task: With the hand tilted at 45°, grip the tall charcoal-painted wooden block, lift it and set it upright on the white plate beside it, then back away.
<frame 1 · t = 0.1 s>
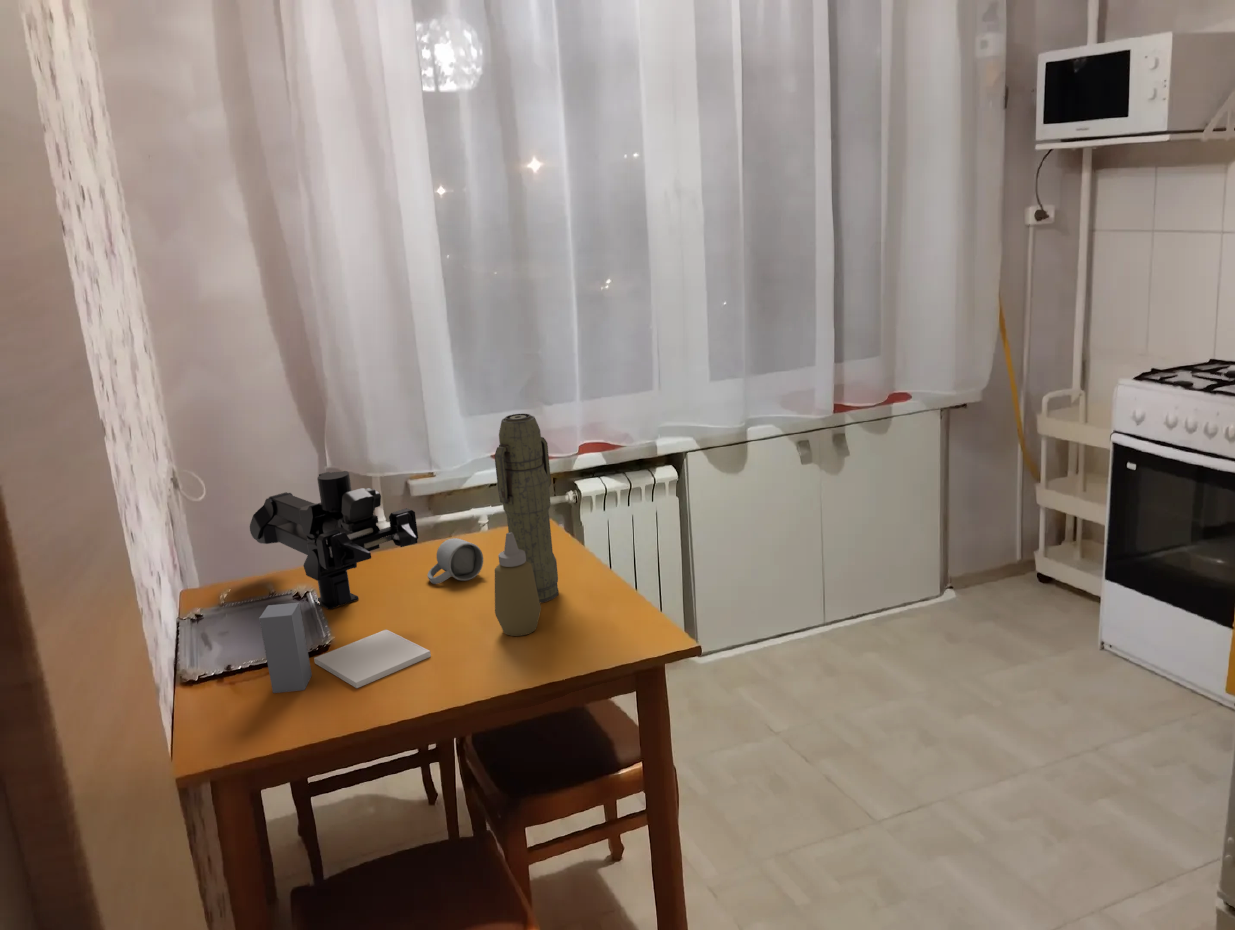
hand: (393, 547, 170), 17 cm above the table, tool horizontal, fingers open, 9 cm apart
tall block: (292, 684, 159), on the table
squeeze bottle: (520, 630, 173), on the table
white plate: (372, 659, 166), on the table
ceramic mug: (455, 578, 200), on the table
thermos: (536, 595, 188), on the table
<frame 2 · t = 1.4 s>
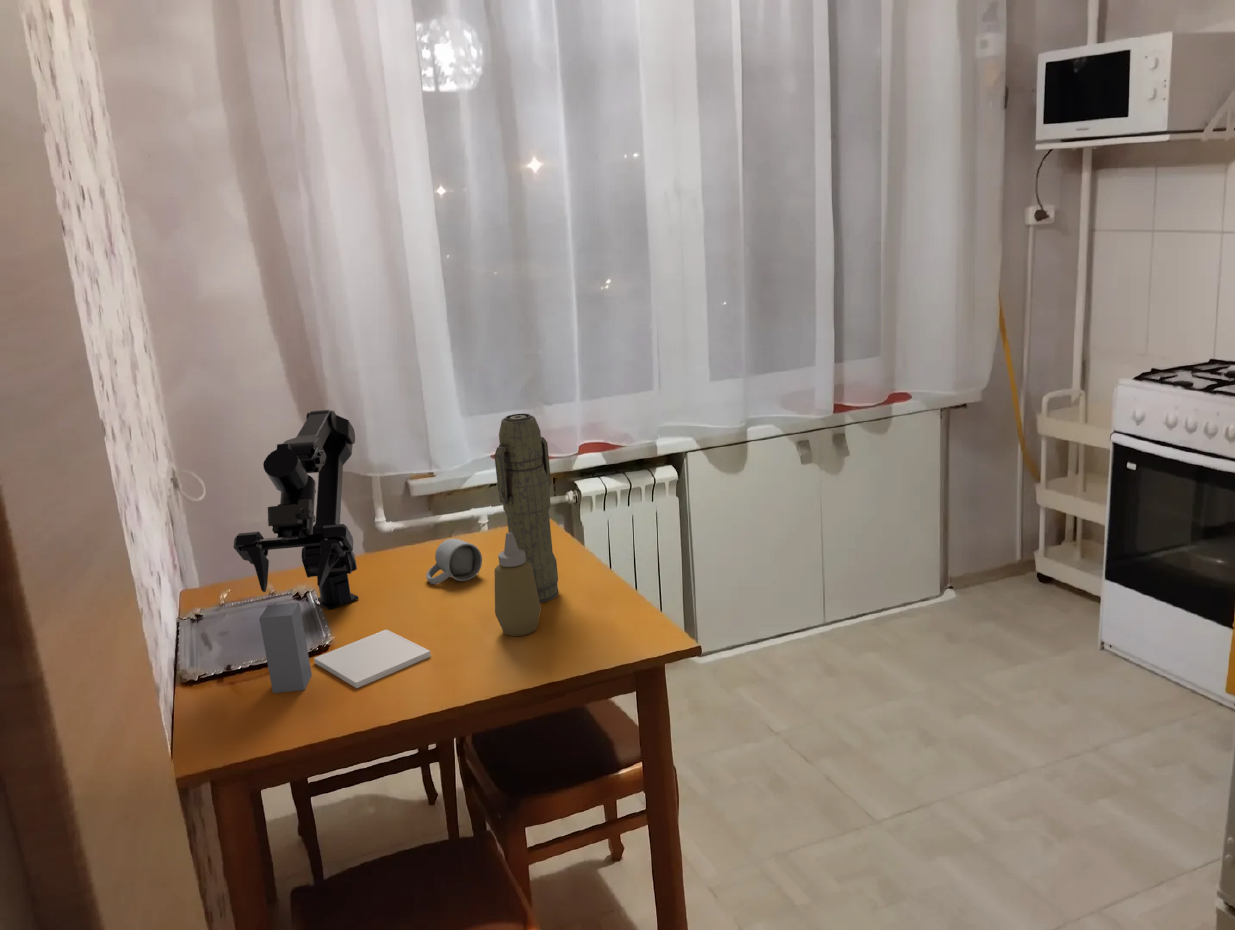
hand: (291, 588, 163), 13 cm above the table, tool tilted 45°, fingers open, 9 cm apart
nothing on the table moved.
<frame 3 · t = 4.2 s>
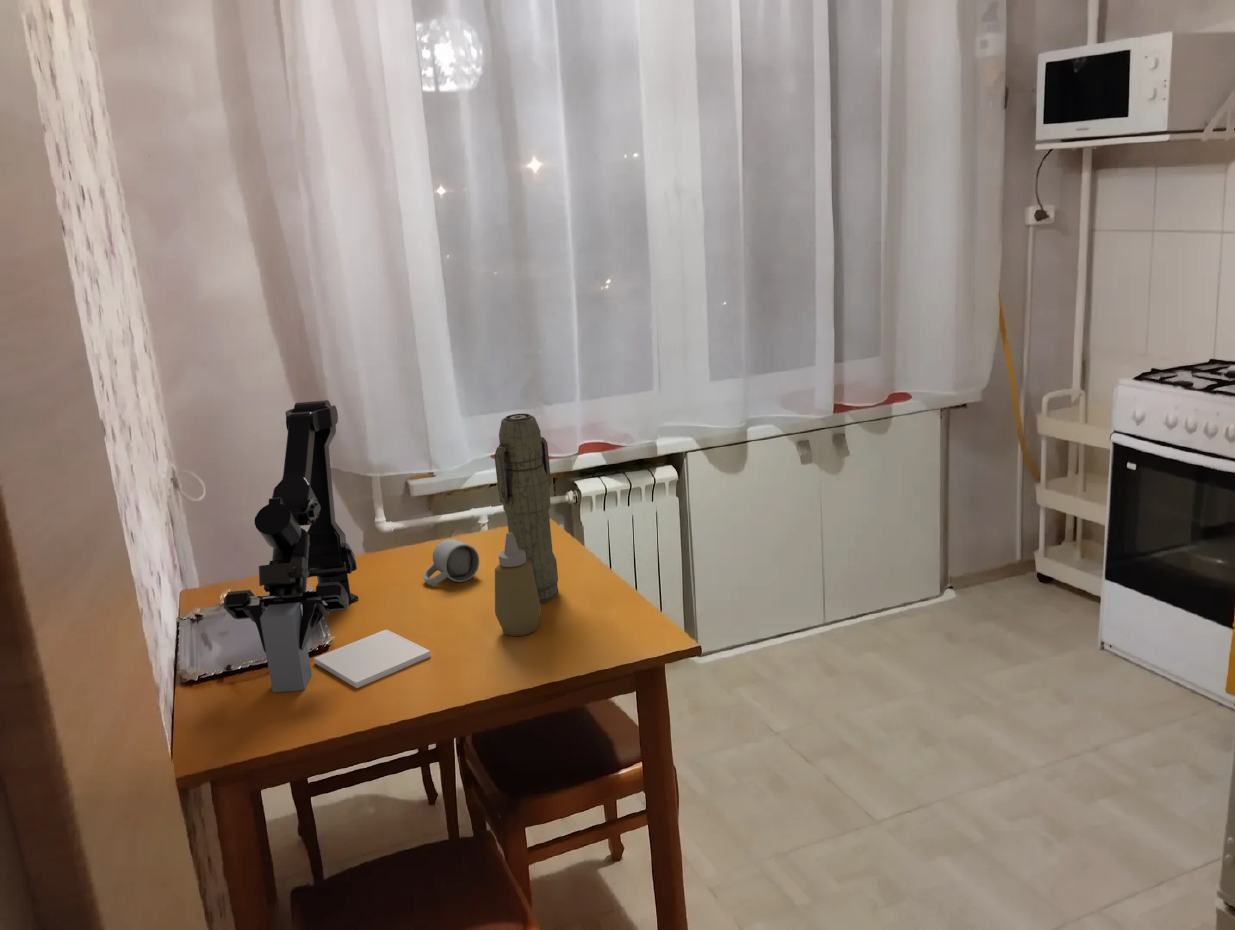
hand: (283, 650, 156), 7 cm above the table, tool tilted 45°, fingers closed on tall block, 5 cm apart
tall block: (292, 683, 159), on the table, touching gripper
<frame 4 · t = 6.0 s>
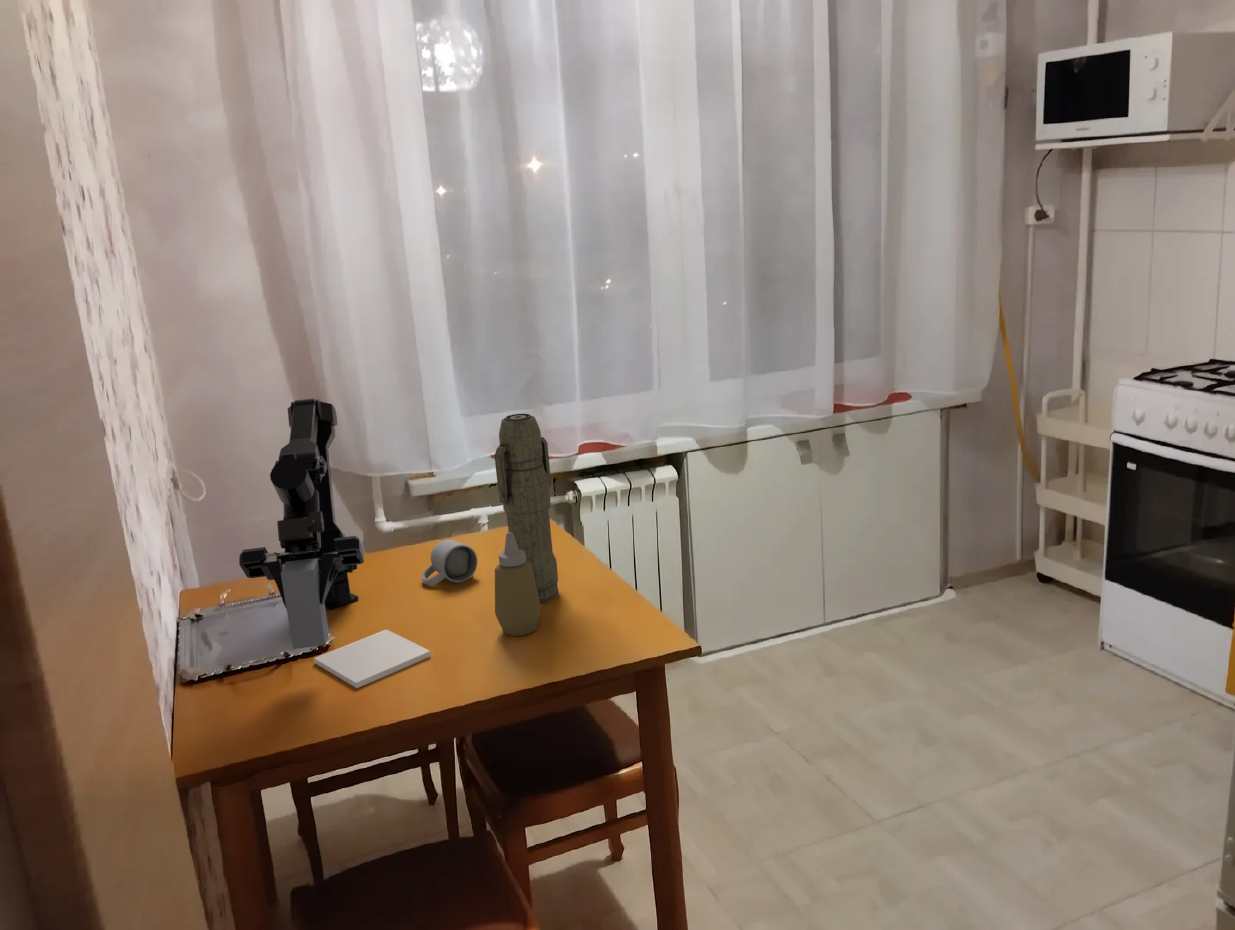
hand: (304, 605, 156), 13 cm above the table, tool tilted 45°, fingers closed on tall block, 5 cm apart
tall block: (311, 640, 159), point 7 cm above the table, touching gripper
when the fingers open (9 cm above the table, at t = 8.2 s): tall block drops 1 cm, resting on white plate.
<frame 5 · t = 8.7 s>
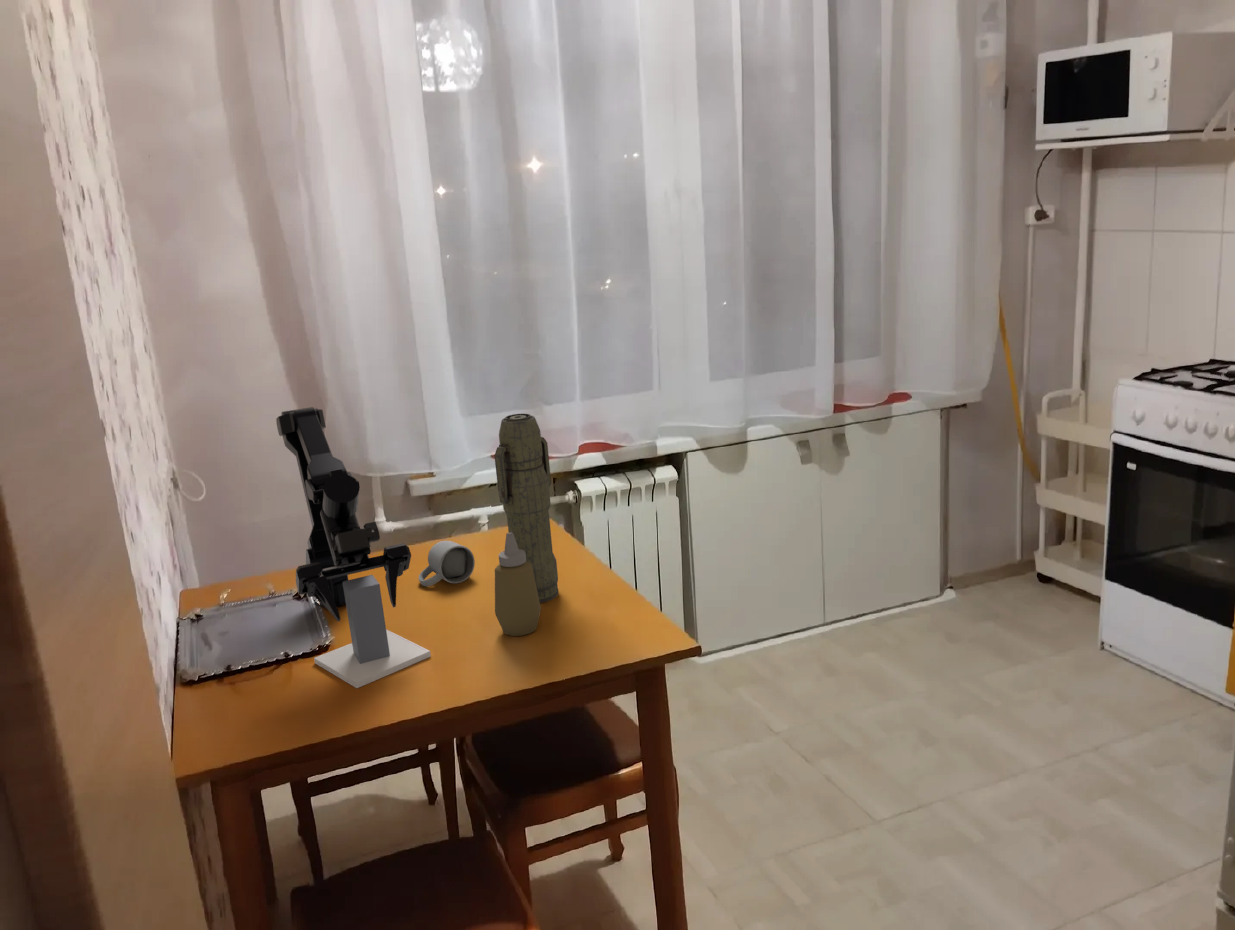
hand: (367, 613, 162), 9 cm above the table, tool tilted 45°, fingers open, 9 cm apart
tall block: (371, 654, 166), point 1 cm above the table, touching white plate
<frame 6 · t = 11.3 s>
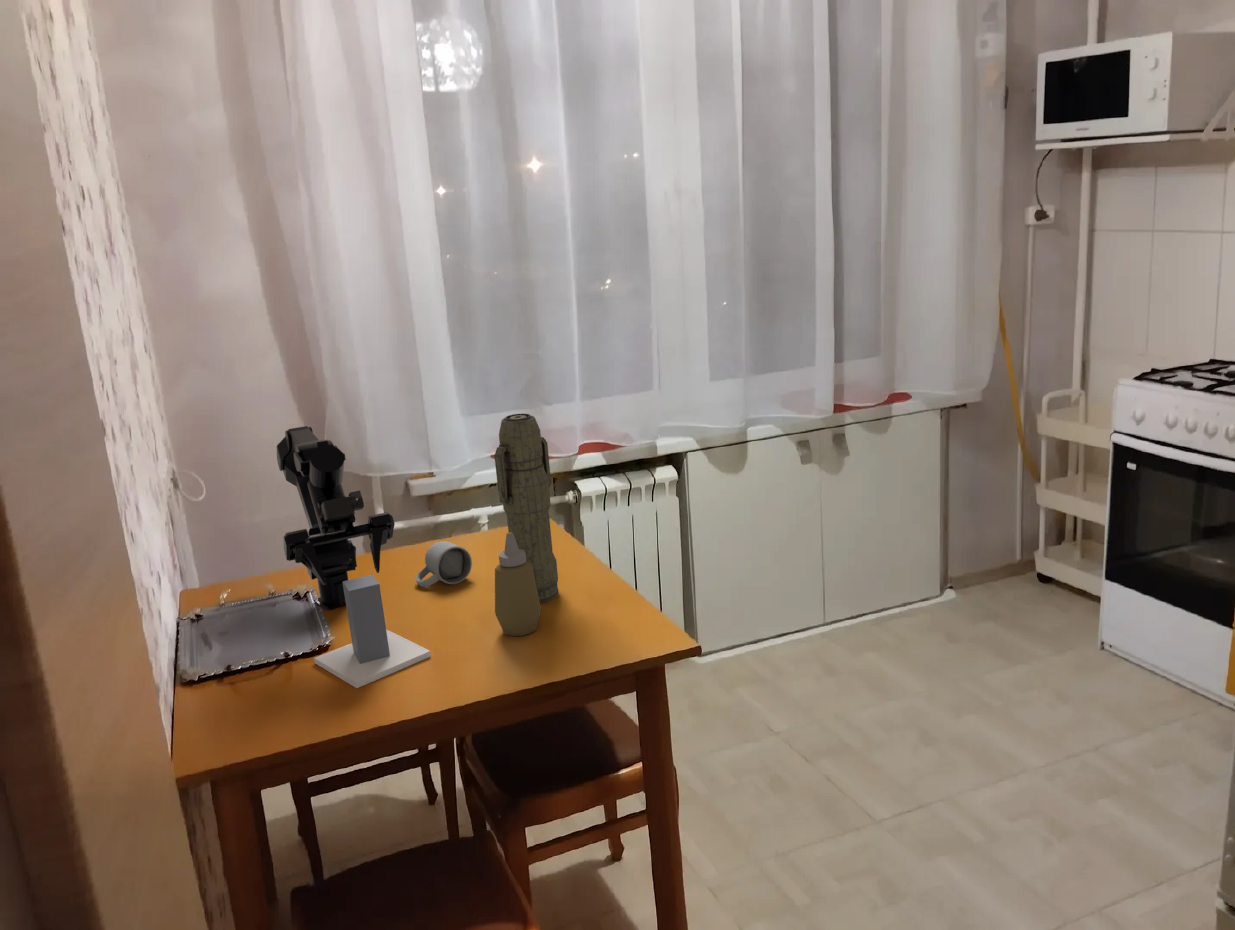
hand: (351, 577, 169), 12 cm above the table, tool tilted 45°, fingers open, 9 cm apart
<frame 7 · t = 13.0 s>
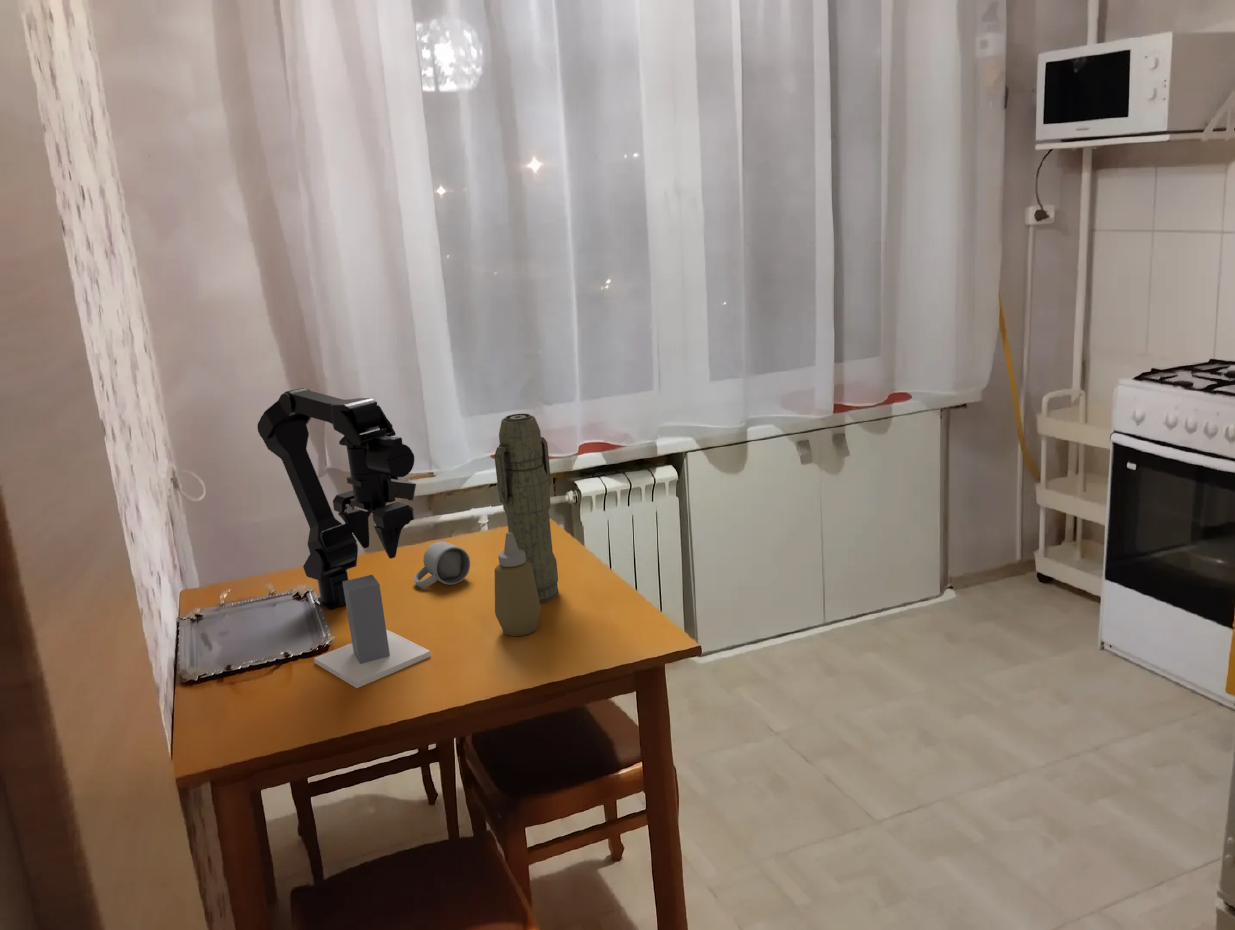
hand: (379, 552, 179), 13 cm above the table, tool pointing down, fingers open, 9 cm apart
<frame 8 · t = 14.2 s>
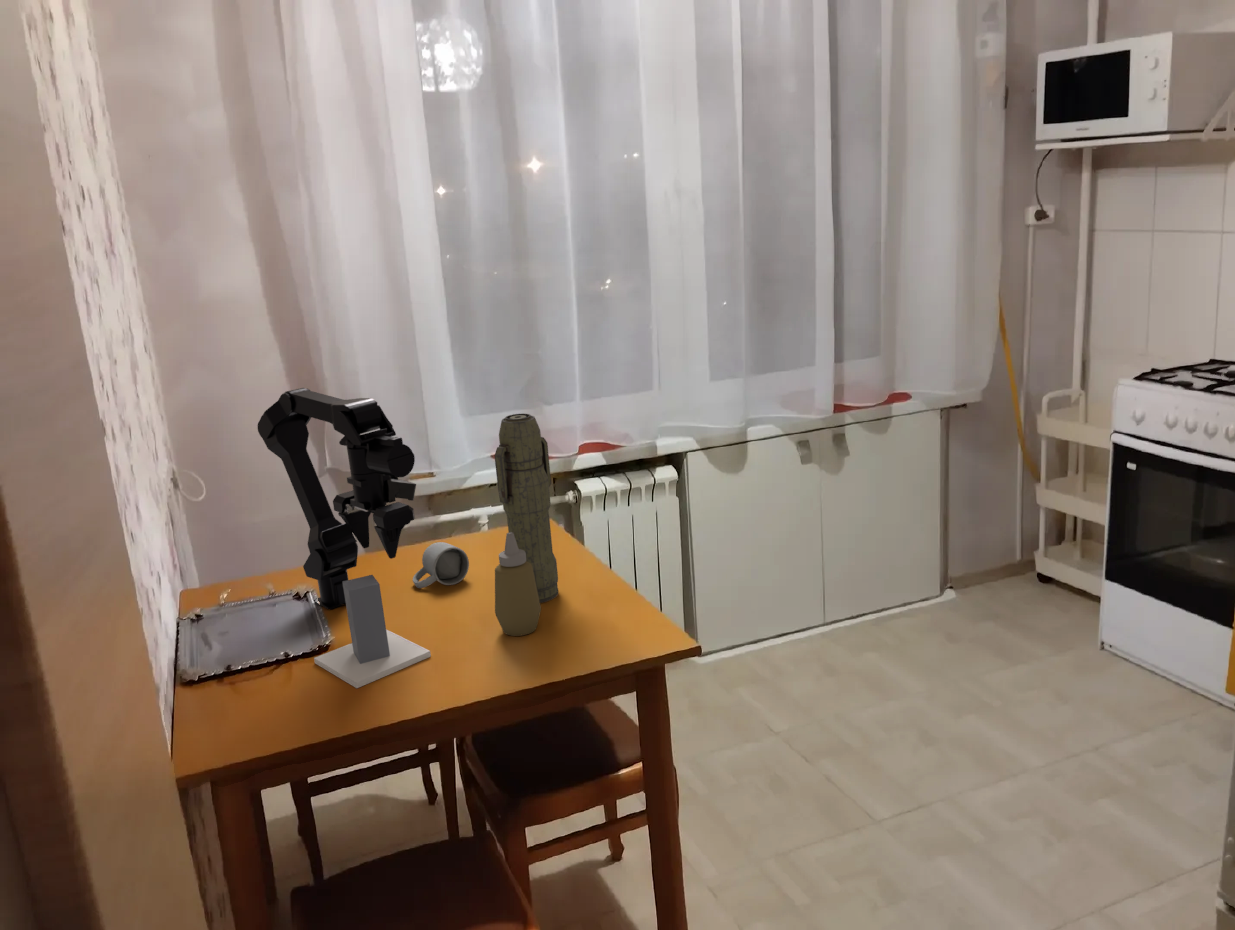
hand: (379, 552, 179), 13 cm above the table, tool pointing down, fingers open, 9 cm apart
at the end: tall block 0.1 cm off-centre on the white plate, point 1.0 cm above the white plate's base; tall block tilted 0°; the gripper is holding nothing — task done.
